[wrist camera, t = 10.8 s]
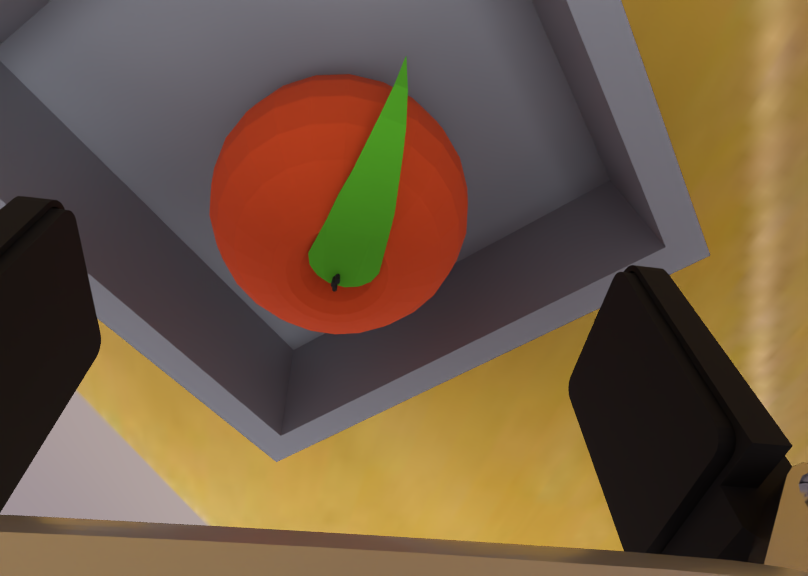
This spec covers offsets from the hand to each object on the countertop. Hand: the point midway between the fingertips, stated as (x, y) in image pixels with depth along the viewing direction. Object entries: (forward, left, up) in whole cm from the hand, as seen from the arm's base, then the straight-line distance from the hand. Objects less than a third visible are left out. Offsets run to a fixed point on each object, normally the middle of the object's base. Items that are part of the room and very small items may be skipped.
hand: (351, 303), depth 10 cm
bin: (0, +1, -10) cm, 10 cm away
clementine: (0, +1, -10) cm, 10 cm away
